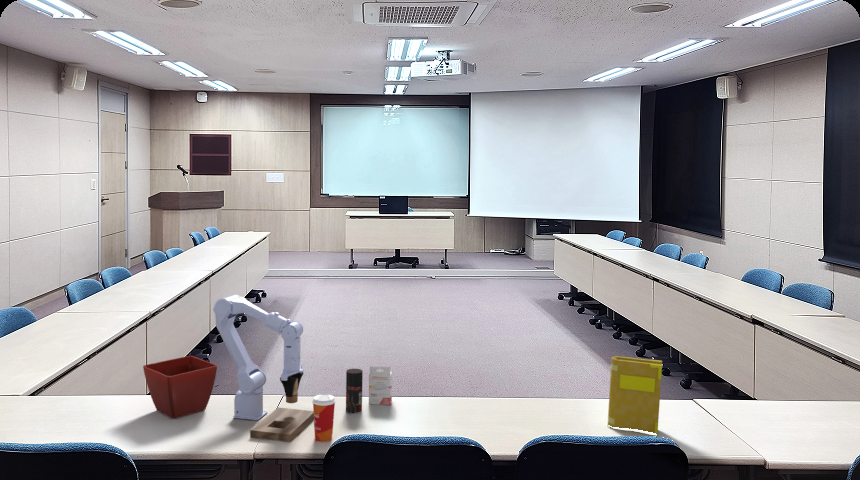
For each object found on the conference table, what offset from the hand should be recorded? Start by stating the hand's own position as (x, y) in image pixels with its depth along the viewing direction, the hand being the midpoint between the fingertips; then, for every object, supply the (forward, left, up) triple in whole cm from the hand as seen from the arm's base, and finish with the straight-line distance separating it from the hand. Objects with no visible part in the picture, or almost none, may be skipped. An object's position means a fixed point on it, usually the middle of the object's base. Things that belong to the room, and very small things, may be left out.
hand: (291, 394), depth 236 cm
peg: (0, 0, -2) cm, 2 cm away
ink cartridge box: (+25, +26, -10) cm, 38 cm away
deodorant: (+18, +15, -10) cm, 26 cm away
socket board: (0, -7, -9) cm, 11 cm away
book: (+118, +24, -10) cm, 121 cm away
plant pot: (-42, -2, -10) cm, 43 cm away
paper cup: (+16, -12, -10) cm, 23 cm away
